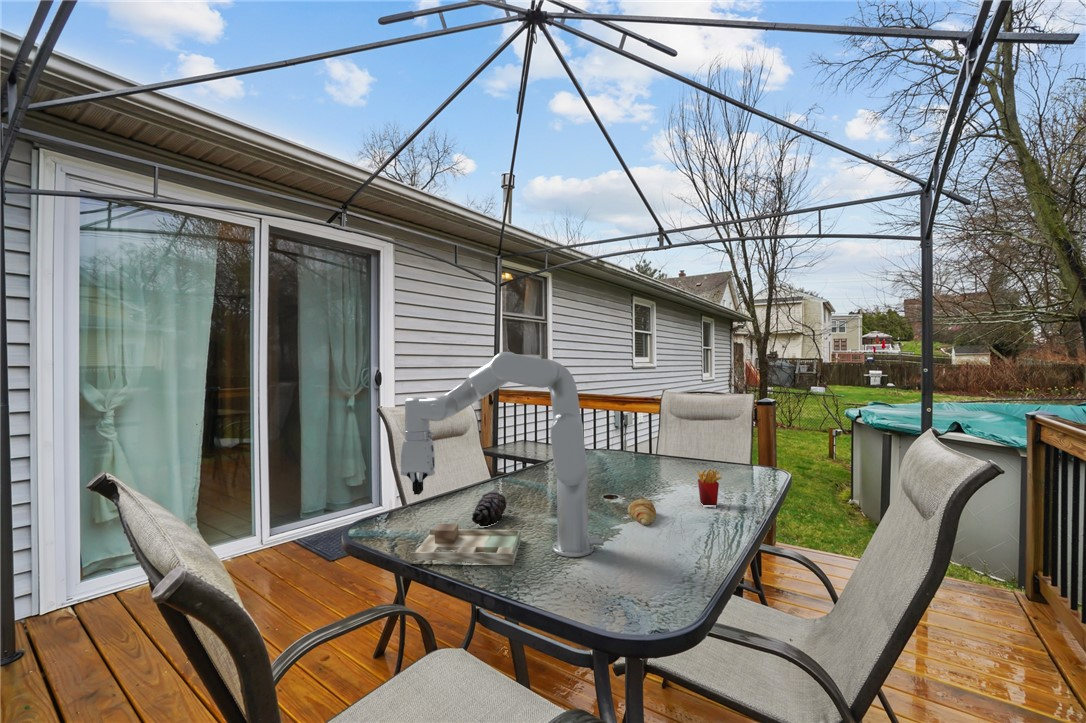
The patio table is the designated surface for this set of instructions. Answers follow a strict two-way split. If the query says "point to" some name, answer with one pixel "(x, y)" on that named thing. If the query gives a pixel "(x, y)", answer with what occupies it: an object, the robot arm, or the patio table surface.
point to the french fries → (708, 487)
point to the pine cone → (489, 509)
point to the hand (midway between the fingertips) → (417, 493)
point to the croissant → (642, 511)
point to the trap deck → (473, 547)
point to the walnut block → (446, 533)
